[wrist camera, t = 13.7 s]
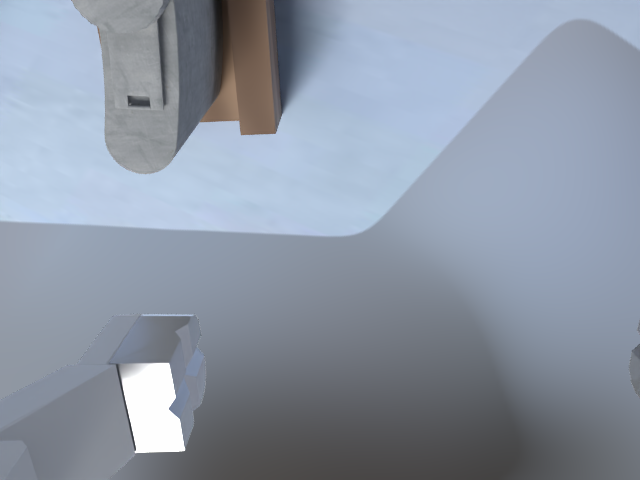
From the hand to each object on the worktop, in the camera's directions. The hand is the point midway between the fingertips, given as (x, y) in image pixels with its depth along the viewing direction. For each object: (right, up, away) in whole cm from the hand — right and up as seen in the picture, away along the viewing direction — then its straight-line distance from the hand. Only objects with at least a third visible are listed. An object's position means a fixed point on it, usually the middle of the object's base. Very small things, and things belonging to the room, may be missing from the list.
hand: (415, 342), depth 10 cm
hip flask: (-11, +19, +27) cm, 35 cm away
